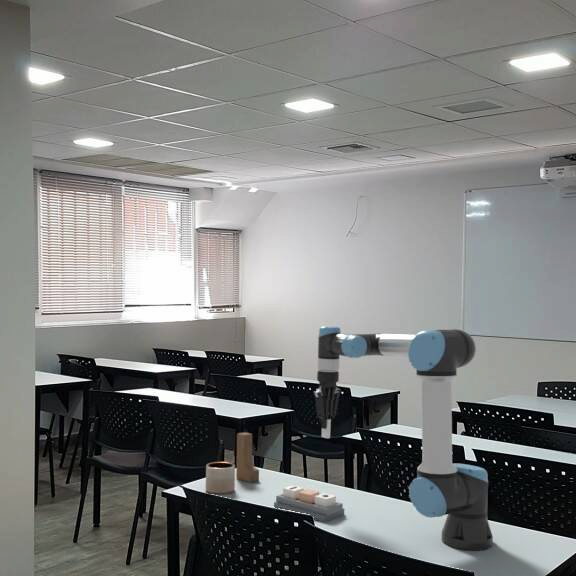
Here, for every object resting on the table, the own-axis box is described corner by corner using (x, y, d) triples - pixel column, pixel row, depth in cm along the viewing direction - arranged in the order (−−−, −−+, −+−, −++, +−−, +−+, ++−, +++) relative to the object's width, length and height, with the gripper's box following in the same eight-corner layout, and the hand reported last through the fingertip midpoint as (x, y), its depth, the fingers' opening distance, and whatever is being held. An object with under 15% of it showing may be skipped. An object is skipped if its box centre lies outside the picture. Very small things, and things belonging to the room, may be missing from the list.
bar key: (303, 496, 251) (303, 487, 251) (294, 499, 247) (294, 490, 247) (292, 493, 254) (292, 484, 254) (283, 496, 251) (283, 487, 251)
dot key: (335, 505, 242) (335, 495, 242) (326, 508, 238) (326, 498, 238) (323, 502, 245) (323, 492, 245) (314, 505, 242) (314, 495, 242)
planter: (220, 496, 263) (221, 470, 263) (199, 490, 269) (199, 465, 269) (240, 490, 271) (241, 464, 271) (219, 485, 278) (219, 460, 278)
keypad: (344, 514, 244) (344, 502, 244) (324, 522, 235) (324, 510, 235) (294, 501, 258) (294, 490, 258) (273, 508, 249) (274, 496, 249)
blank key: (319, 500, 247) (319, 492, 247) (310, 503, 243) (310, 495, 243) (307, 497, 250) (307, 489, 250) (298, 500, 246) (298, 492, 246)
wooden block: (259, 481, 284) (260, 435, 284) (250, 483, 281) (251, 436, 281) (244, 476, 291) (245, 432, 291) (235, 478, 288) (236, 433, 288)
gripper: (331, 367, 259) (328, 433, 260) (308, 370, 250) (305, 438, 250) (347, 370, 254) (345, 436, 255) (324, 373, 245) (322, 442, 245)
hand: (325, 437), depth 252 cm, fingers closed
